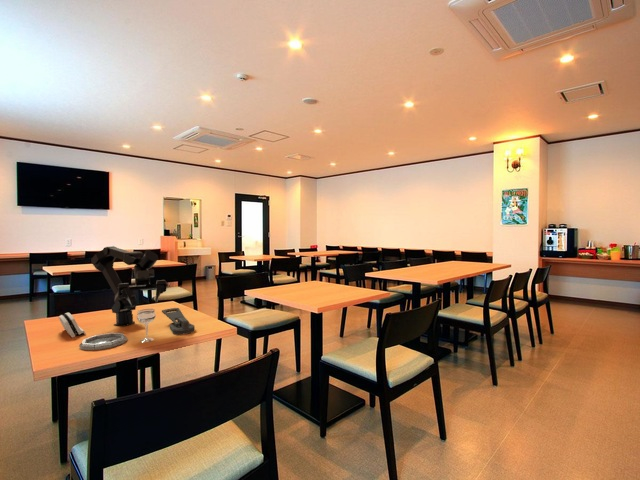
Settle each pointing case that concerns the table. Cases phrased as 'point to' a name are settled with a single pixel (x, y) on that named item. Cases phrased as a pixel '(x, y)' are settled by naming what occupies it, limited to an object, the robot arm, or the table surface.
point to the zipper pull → (178, 322)
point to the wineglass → (146, 320)
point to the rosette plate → (103, 341)
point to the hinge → (70, 325)
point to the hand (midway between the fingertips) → (144, 303)
